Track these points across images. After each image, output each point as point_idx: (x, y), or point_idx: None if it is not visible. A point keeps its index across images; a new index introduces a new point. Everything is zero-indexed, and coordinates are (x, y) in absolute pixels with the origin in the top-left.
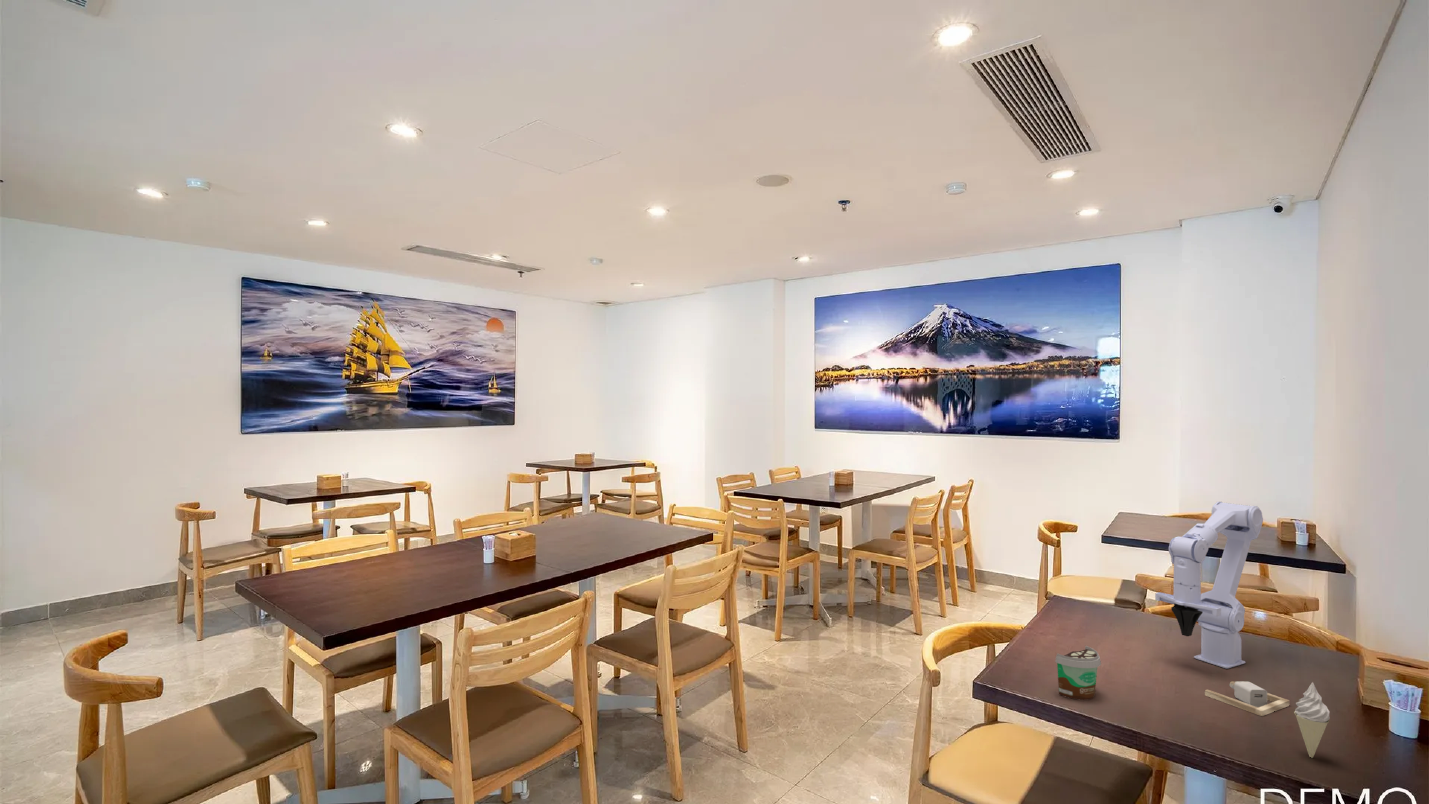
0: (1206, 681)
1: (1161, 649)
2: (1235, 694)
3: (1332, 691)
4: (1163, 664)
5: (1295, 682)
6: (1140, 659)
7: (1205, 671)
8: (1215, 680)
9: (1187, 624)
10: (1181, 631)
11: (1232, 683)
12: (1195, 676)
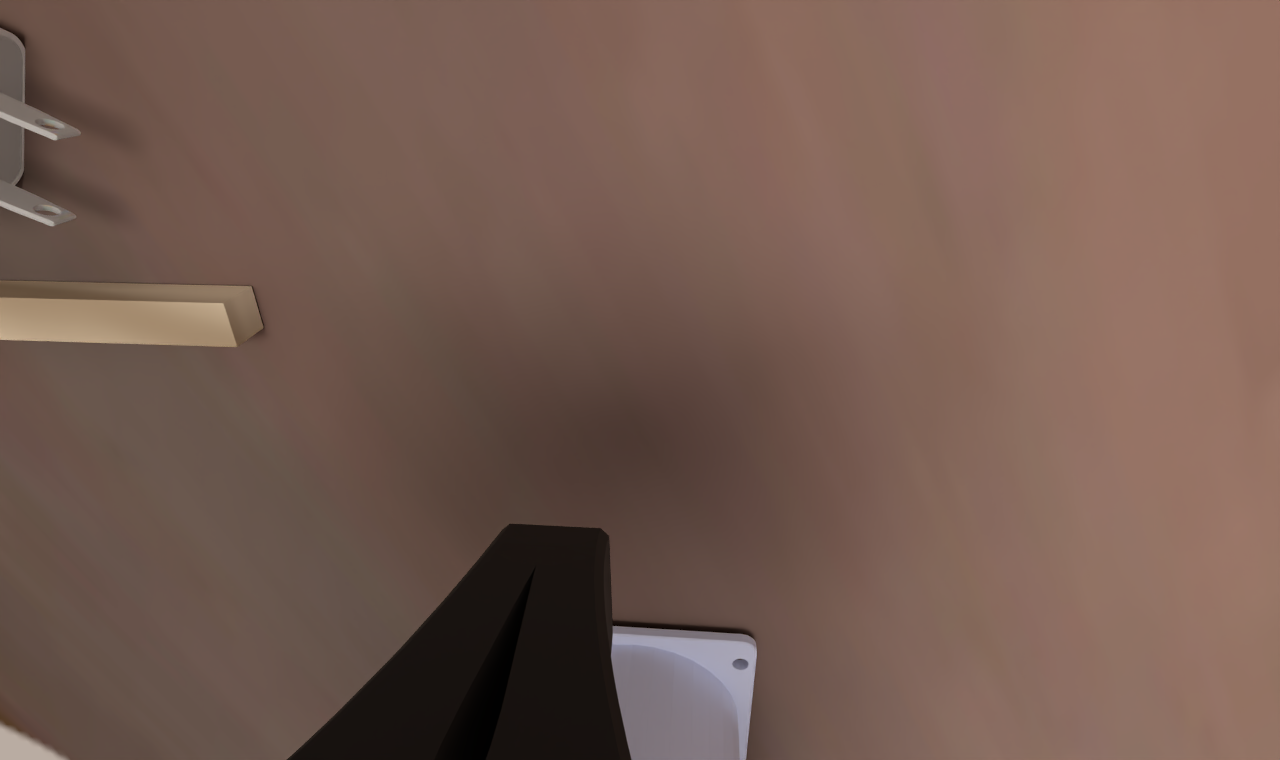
0: (396, 219)
1: (1004, 620)
2: None
3: (120, 744)
4: (835, 280)
5: (251, 724)
6: (1060, 189)
7: (556, 453)
8: (392, 324)
9: (352, 725)
10: (589, 566)
11: (207, 298)
12: (513, 252)
